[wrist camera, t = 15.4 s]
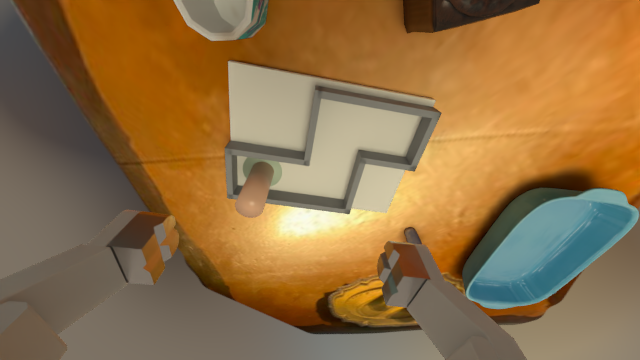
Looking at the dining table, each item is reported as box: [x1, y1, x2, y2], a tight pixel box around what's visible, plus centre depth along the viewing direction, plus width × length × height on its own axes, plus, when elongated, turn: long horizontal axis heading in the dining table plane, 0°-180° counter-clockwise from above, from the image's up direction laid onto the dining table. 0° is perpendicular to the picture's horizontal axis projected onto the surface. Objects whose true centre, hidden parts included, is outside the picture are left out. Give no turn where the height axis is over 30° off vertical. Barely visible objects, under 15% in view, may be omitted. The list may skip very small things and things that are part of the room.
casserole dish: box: [462, 188, 639, 309], centre depth 51 cm, size 37×22×7 cm, turn 171°
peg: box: [235, 162, 274, 218], centre depth 38 cm, size 4×4×10 cm
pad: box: [243, 157, 282, 186], centre depth 42 cm, size 7×7×1 cm
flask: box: [405, 227, 422, 244], centre depth 50 cm, size 9×3×11 cm, turn 23°
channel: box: [225, 60, 441, 214], centre depth 39 cm, size 31×23×4 cm
